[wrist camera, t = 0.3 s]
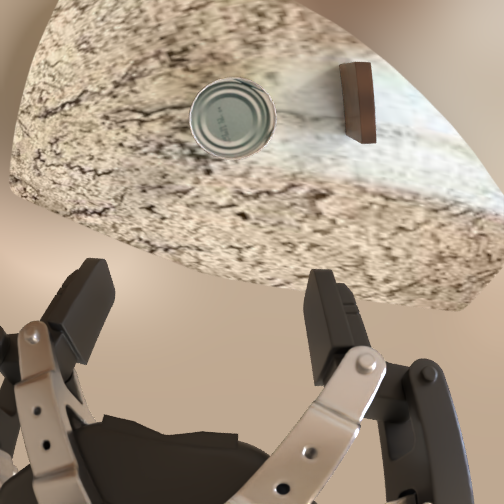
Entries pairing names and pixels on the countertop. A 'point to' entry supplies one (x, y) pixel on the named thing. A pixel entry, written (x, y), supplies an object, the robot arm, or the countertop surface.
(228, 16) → the countertop surface
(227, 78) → the canned food
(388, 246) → the countertop surface
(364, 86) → the brown rectangular block
